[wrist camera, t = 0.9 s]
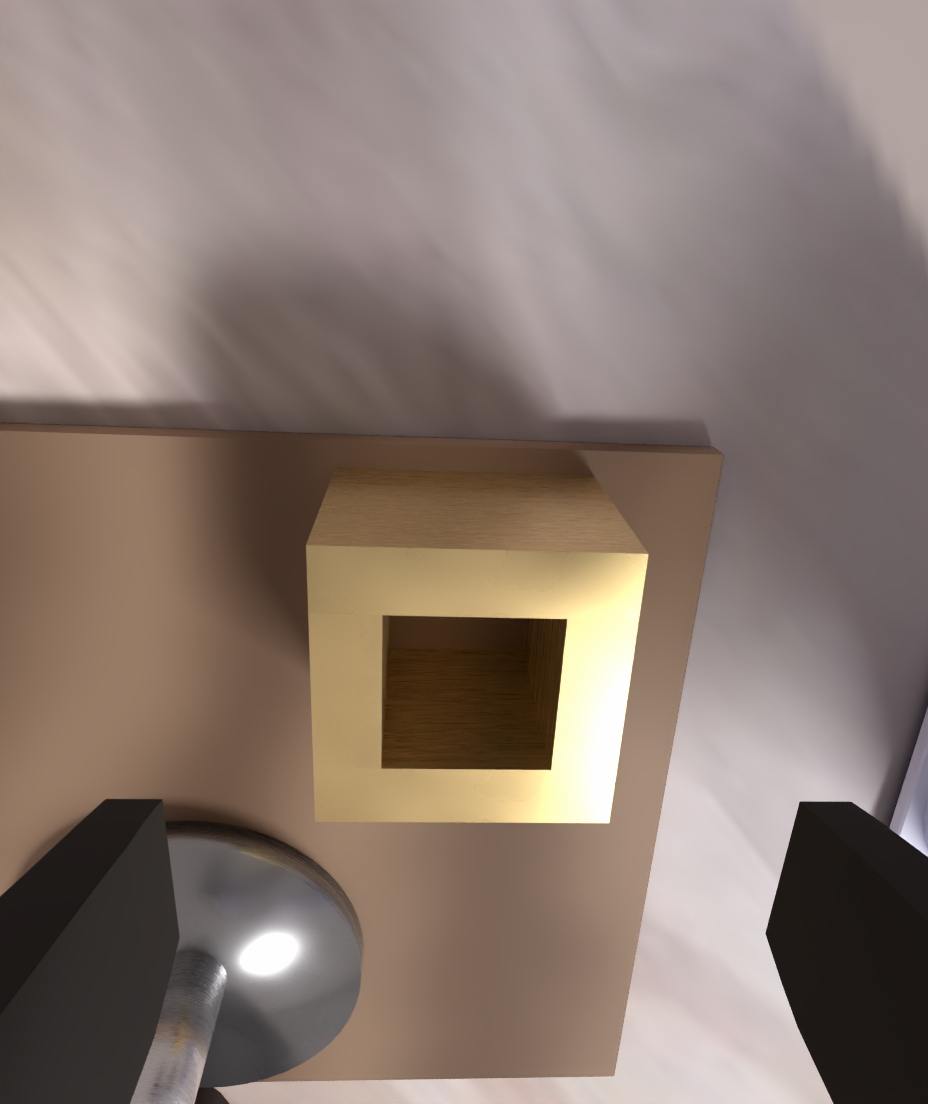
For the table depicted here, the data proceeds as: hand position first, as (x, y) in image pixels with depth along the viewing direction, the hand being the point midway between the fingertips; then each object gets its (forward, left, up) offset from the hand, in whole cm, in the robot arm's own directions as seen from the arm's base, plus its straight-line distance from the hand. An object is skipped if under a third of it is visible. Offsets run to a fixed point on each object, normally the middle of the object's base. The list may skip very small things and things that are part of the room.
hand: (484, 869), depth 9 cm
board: (+5, +6, -8) cm, 11 cm away
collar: (0, 0, -8) cm, 8 cm away
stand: (+6, +10, -8) cm, 14 cm away
